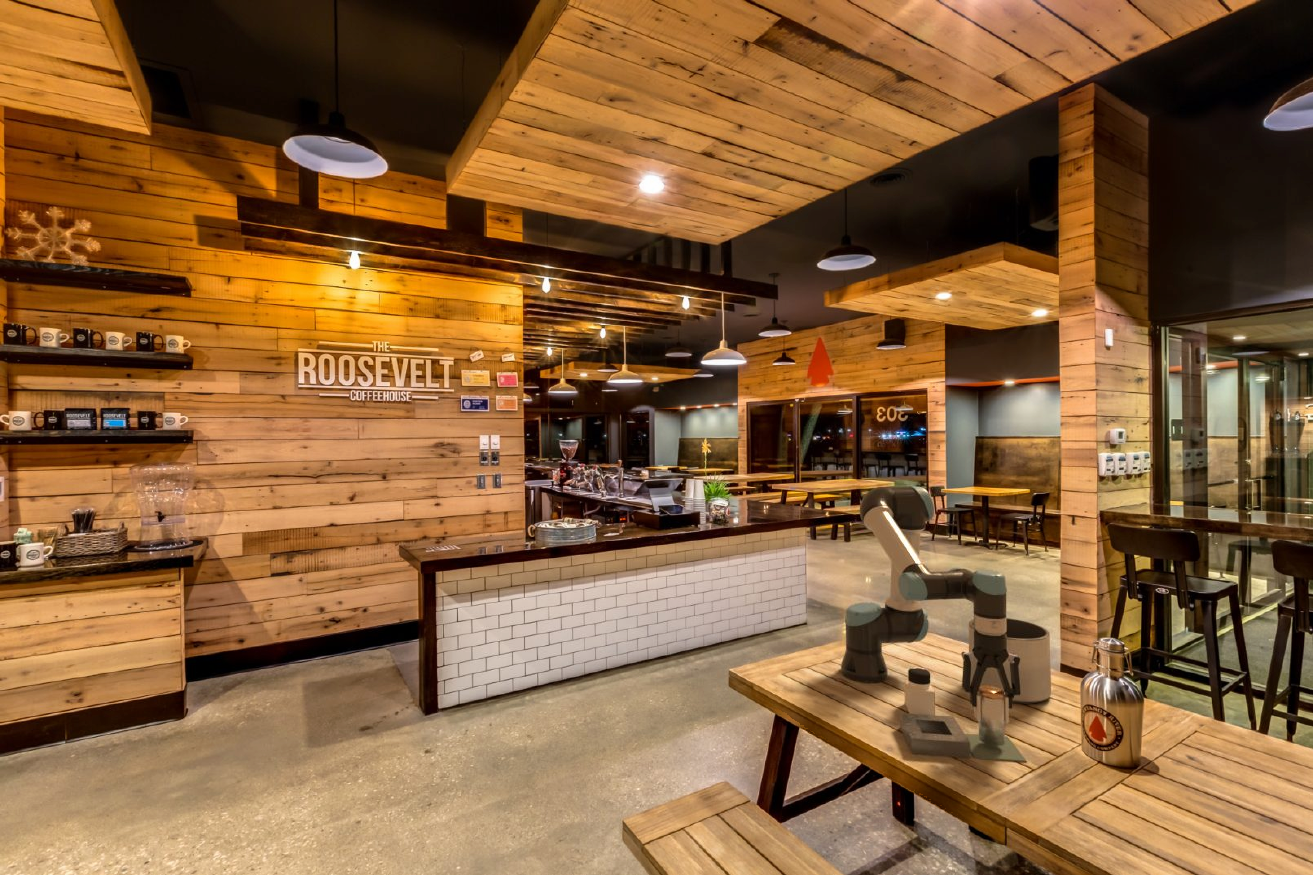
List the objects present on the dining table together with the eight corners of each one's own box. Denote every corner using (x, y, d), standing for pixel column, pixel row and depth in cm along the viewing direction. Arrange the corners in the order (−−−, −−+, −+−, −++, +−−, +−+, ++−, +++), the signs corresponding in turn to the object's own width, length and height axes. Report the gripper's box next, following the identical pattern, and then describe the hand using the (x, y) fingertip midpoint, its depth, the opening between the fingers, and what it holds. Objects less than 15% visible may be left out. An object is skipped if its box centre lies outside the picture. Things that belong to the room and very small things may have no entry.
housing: (900, 727, 168) (899, 713, 168) (953, 730, 166) (953, 716, 166) (912, 753, 155) (911, 738, 155) (970, 758, 152) (970, 742, 152)
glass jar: (975, 733, 160) (974, 685, 160) (999, 735, 159) (999, 686, 159) (983, 745, 154) (982, 694, 154) (1008, 746, 153) (1008, 696, 153)
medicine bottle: (935, 716, 175) (935, 675, 174) (909, 714, 176) (908, 673, 176) (929, 705, 182) (928, 665, 181) (904, 703, 183) (903, 664, 183)
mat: (959, 734, 164) (959, 733, 164) (1007, 738, 162) (1007, 736, 162) (974, 758, 152) (974, 756, 152) (1026, 762, 150) (1026, 760, 150)
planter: (1005, 671, 205) (1004, 613, 205) (1069, 699, 184) (1068, 634, 184) (952, 681, 198) (952, 621, 198) (1013, 711, 177) (1012, 643, 176)
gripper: (955, 634, 154) (956, 723, 155) (1036, 637, 151) (1037, 729, 151) (946, 625, 162) (948, 710, 162) (1023, 628, 158) (1024, 715, 159)
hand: (991, 719), depth 157 cm, fingers closed on glass jar, 6 cm apart
